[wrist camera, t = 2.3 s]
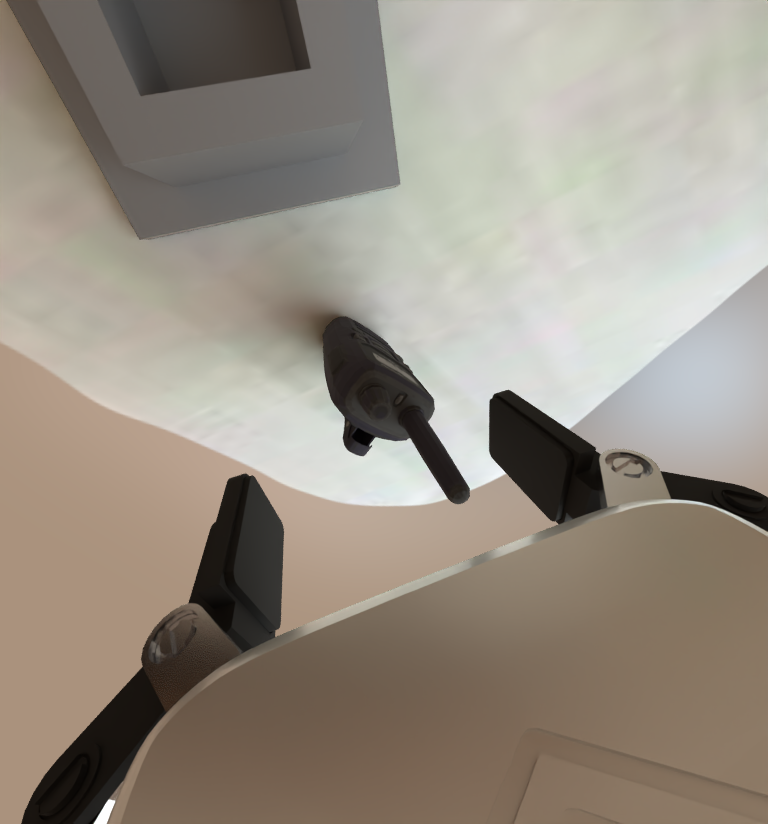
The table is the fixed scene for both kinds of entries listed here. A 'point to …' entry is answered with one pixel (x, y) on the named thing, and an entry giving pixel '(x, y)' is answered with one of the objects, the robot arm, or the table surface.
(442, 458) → the two-way radio
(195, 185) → the charging dock
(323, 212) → the table surface
